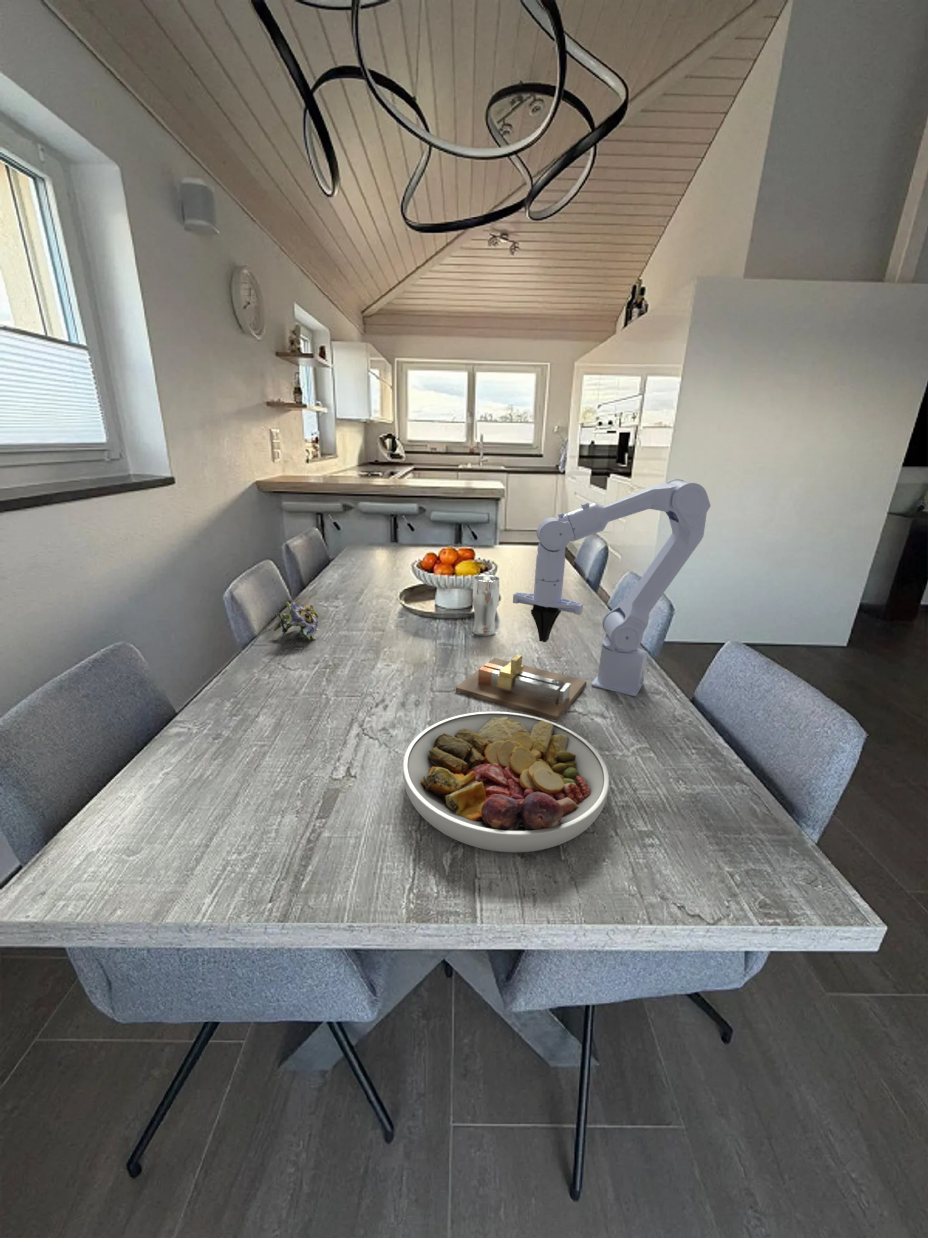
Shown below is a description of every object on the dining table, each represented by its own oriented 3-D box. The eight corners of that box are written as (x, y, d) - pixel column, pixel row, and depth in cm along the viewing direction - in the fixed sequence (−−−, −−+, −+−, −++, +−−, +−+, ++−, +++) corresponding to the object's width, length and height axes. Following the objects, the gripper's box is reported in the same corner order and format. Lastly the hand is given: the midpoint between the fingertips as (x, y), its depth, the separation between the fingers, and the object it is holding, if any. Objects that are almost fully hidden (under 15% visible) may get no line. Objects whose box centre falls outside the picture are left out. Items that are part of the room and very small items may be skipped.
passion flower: (313, 659, 134) (316, 633, 125) (268, 653, 132) (268, 626, 123) (320, 623, 141) (323, 596, 132) (277, 617, 139) (277, 589, 129)
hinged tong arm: (563, 695, 106) (565, 681, 105) (559, 700, 104) (561, 686, 103) (487, 674, 114) (488, 661, 113) (482, 679, 112) (483, 665, 111)
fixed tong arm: (569, 698, 105) (570, 683, 104) (562, 706, 102) (563, 691, 101) (487, 675, 114) (488, 662, 113) (478, 683, 110) (478, 669, 109)
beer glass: (487, 638, 137) (490, 583, 132) (465, 632, 141) (467, 578, 136) (502, 631, 142) (505, 577, 137) (481, 625, 146) (483, 573, 141)
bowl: (383, 752, 88) (383, 710, 85) (543, 725, 98) (547, 687, 95) (437, 893, 61) (438, 838, 59) (649, 836, 71) (658, 787, 69)
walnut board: (586, 685, 113) (586, 680, 113) (557, 721, 98) (557, 716, 98) (494, 661, 123) (494, 657, 123) (455, 691, 108) (455, 687, 108)
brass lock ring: (522, 679, 110) (524, 653, 108) (510, 690, 105) (512, 663, 103) (509, 676, 111) (510, 650, 109) (497, 686, 107) (498, 660, 105)
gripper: (589, 579, 107) (582, 641, 112) (523, 569, 114) (519, 628, 118) (579, 587, 102) (572, 652, 106) (510, 576, 108) (506, 637, 112)
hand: (543, 640), depth 112 cm, fingers closed
